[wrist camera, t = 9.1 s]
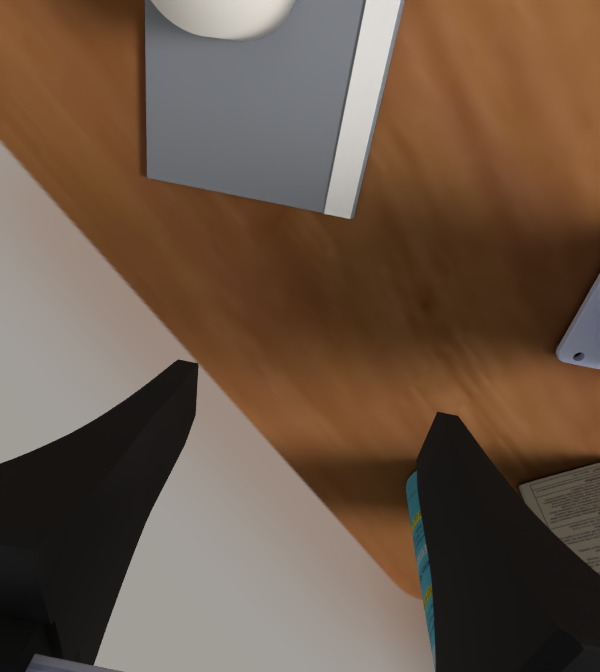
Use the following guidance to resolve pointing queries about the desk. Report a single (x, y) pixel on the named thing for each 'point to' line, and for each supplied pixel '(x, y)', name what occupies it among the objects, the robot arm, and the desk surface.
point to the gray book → (271, 104)
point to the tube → (421, 556)
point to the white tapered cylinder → (227, 17)
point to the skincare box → (570, 509)
